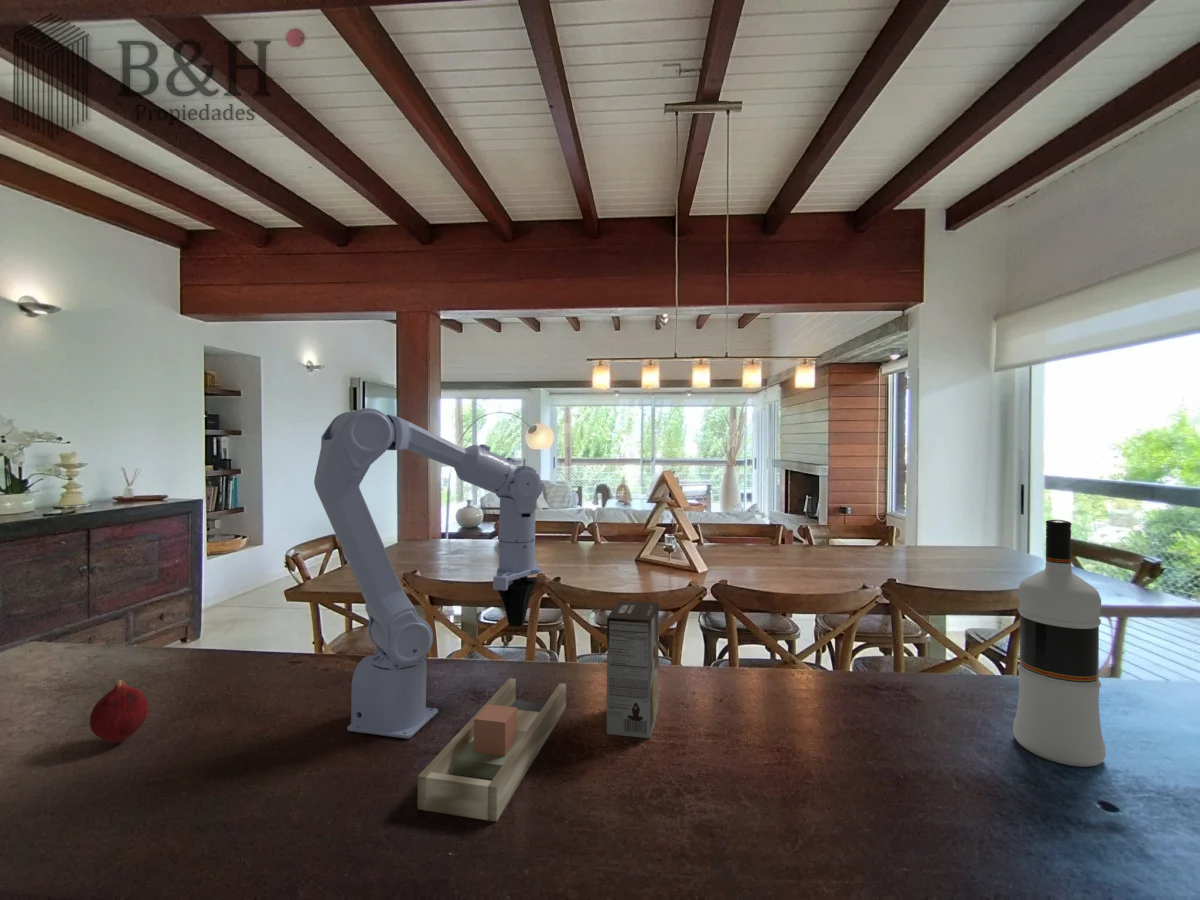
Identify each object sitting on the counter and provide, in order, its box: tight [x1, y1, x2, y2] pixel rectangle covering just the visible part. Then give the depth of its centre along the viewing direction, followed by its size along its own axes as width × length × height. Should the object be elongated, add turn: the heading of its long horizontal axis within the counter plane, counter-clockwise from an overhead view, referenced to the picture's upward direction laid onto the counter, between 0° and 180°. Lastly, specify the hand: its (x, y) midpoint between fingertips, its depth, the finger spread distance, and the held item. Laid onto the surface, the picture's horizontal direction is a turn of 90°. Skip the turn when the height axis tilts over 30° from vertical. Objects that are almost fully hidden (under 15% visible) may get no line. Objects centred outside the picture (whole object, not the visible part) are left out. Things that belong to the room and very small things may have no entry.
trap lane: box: [416, 677, 567, 823], centre depth 71 cm, size 9×26×4 cm, turn 168°
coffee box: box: [606, 600, 660, 740], centre depth 79 cm, size 9×6×16 cm
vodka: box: [1012, 519, 1106, 768], centre depth 72 cm, size 9×9×30 cm
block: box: [474, 704, 517, 756], centre depth 68 cm, size 4×4×4 cm
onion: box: [89, 679, 150, 745], centre depth 72 cm, size 6×6×8 cm
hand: (516, 624), depth 89 cm, fingers closed
